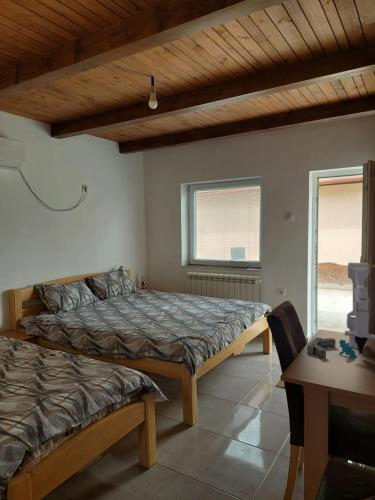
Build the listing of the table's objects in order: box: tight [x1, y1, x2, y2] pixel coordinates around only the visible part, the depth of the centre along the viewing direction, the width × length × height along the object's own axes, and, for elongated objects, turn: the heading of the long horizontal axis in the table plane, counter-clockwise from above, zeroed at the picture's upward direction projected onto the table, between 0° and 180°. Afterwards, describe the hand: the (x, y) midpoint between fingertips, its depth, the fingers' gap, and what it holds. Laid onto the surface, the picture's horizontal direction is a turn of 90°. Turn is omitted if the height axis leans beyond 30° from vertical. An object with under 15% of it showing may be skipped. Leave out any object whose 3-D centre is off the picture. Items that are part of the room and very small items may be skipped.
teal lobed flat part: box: [338, 339, 357, 359], centre depth 173 cm, size 11×6×10 cm
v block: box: [306, 336, 337, 360], centre depth 179 cm, size 23×9×4 cm, turn 144°
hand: (360, 352), depth 168 cm, fingers closed
